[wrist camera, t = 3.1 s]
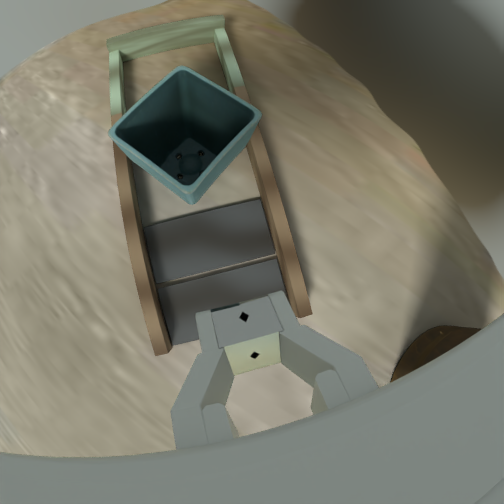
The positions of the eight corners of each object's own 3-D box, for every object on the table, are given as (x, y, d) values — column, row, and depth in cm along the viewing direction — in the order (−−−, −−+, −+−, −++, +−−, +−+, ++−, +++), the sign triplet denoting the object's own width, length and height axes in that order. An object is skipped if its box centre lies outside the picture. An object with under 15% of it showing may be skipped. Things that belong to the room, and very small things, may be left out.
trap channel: (304, 312, 29) (318, 315, 25) (160, 350, 27) (152, 359, 23) (221, 35, 32) (222, 14, 28) (113, 59, 30) (106, 39, 26)
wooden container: (435, 444, 29) (547, 504, 7) (364, 418, 28) (502, 516, 7) (483, 350, 31) (608, 365, 10) (424, 304, 31) (591, 303, 9)
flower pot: (187, 115, 30) (180, 61, 21) (251, 159, 30) (265, 112, 22) (131, 173, 29) (104, 133, 20) (196, 224, 29) (189, 196, 20)
